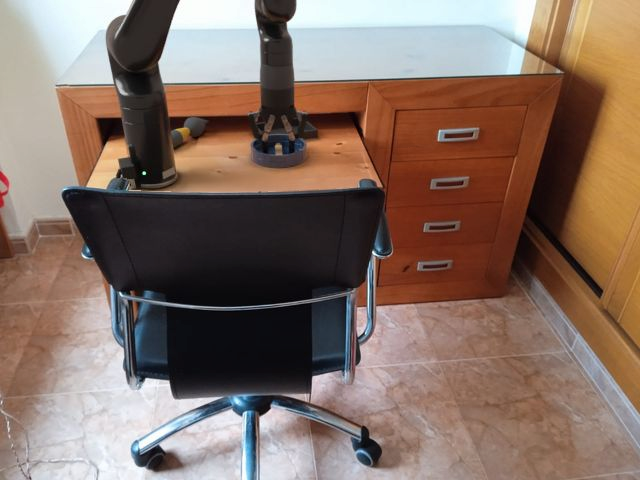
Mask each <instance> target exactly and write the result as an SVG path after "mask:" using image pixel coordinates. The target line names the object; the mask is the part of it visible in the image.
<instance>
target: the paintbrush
mask: <svg viewBox="0 0 640 480" xmlns="http://www.w3.org/2000/svg"><path fill="white" fill-rule="evenodd" d="M209 122H210V120H208V119H207V120H206V119H204V118H200V117H196V116H191V117H188V118H187V119H186V120H184V123H183V127H180V128H176V129H172V130H171V136H172V143H173V149H174V148H176V147H178V146H180V145H181V144H182V143H184V142H185V140H186V139H187V138H188V137H192V138H197V137H200V136H201V135H203V133H204V130H205V128H206V125H207V124H208V123H209Z"/></svg>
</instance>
